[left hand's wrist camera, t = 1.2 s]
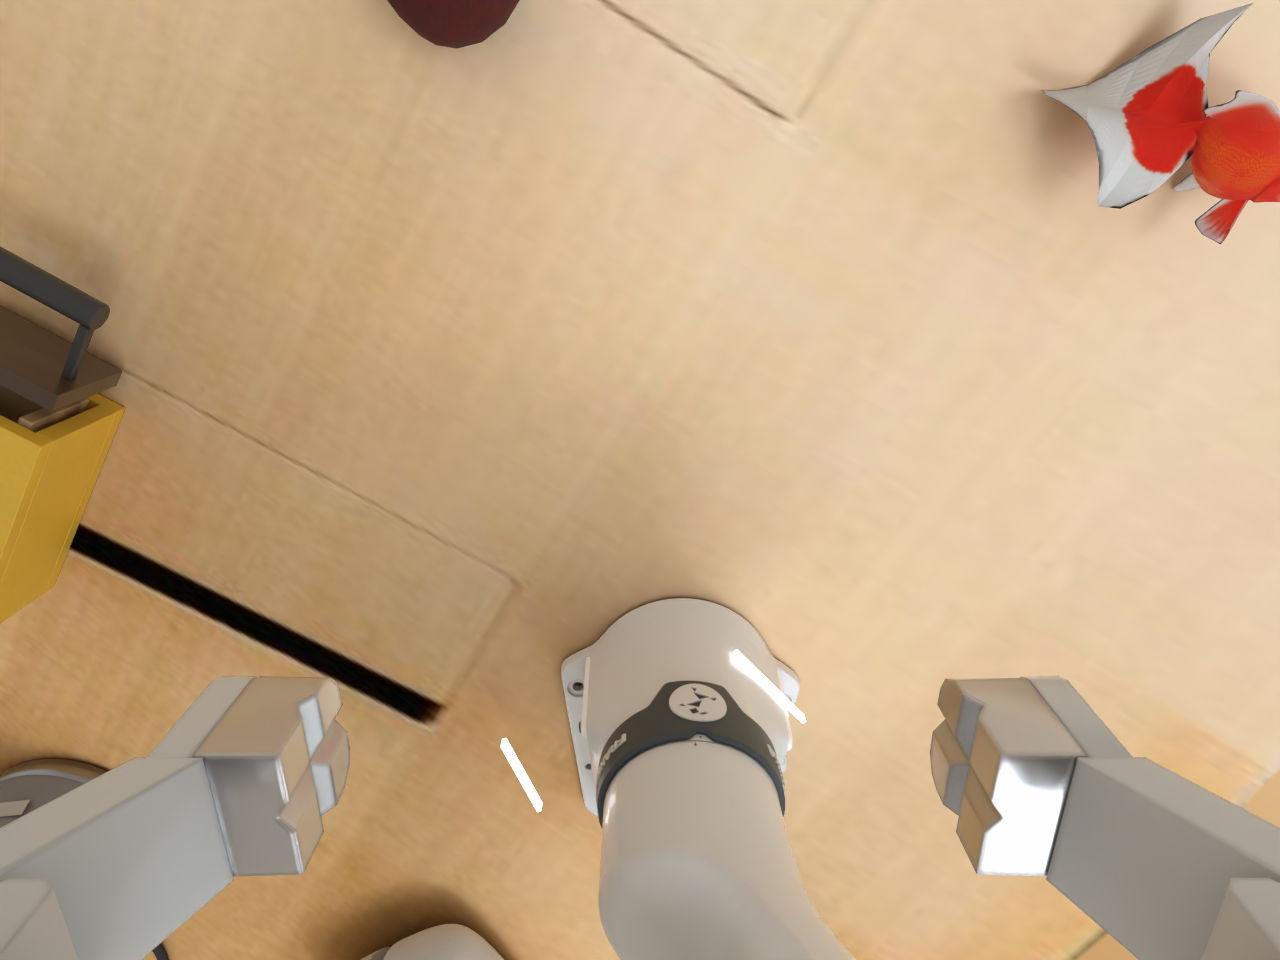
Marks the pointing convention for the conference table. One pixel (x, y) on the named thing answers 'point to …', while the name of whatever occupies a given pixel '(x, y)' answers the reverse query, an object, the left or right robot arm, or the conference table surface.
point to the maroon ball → (454, 19)
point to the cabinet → (47, 495)
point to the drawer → (48, 351)
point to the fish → (1180, 128)
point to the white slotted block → (439, 946)
